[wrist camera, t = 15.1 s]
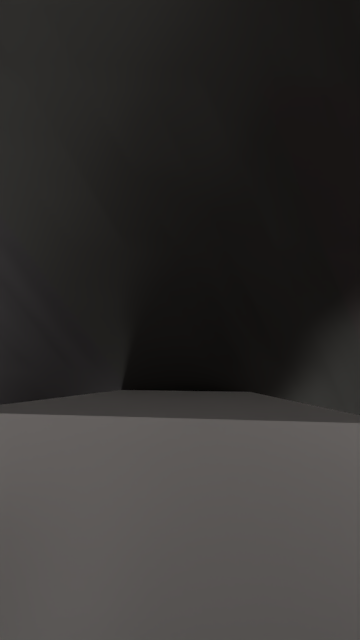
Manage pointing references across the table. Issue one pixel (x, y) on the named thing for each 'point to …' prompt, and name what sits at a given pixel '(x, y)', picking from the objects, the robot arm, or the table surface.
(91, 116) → the table surface
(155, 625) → the white foam cube
